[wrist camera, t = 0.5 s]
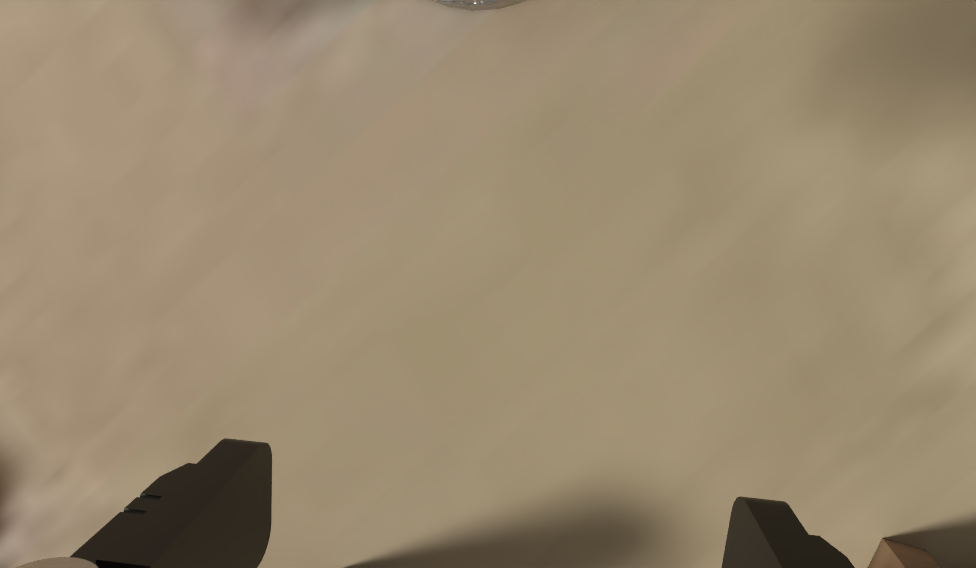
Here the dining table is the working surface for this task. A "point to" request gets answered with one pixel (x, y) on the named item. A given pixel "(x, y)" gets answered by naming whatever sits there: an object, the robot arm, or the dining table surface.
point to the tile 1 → (900, 556)
